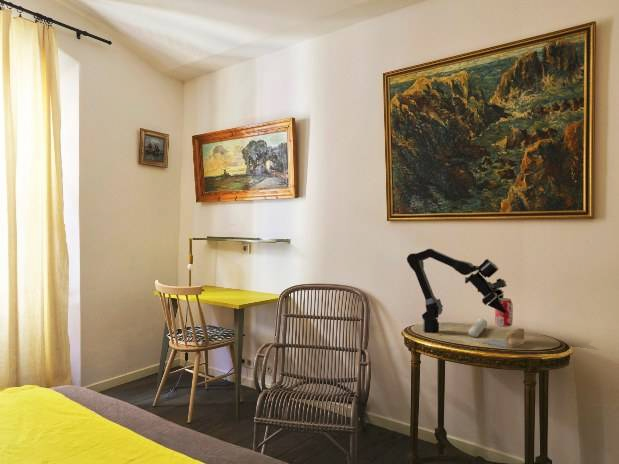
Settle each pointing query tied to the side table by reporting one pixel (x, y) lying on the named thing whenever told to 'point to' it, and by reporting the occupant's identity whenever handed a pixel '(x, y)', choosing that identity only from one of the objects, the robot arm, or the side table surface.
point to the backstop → (514, 338)
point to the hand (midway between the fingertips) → (507, 311)
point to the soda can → (501, 317)
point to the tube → (477, 327)
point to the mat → (495, 342)
